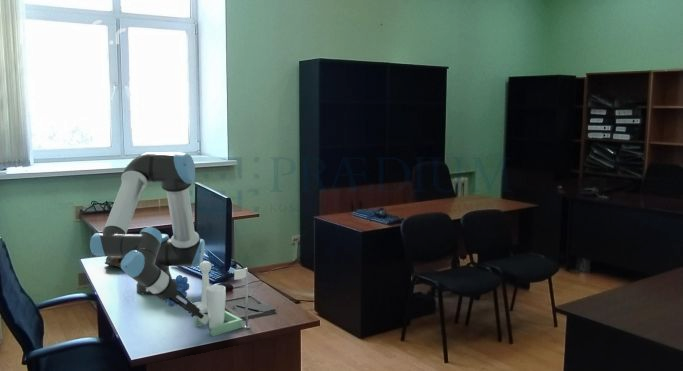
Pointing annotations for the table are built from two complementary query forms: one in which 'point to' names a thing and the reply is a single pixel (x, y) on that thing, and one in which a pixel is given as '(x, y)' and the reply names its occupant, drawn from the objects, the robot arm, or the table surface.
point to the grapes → (180, 287)
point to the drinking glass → (216, 304)
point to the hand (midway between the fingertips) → (206, 320)
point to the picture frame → (254, 306)
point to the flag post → (244, 274)
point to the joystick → (204, 286)
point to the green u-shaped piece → (224, 324)
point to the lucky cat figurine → (114, 260)
